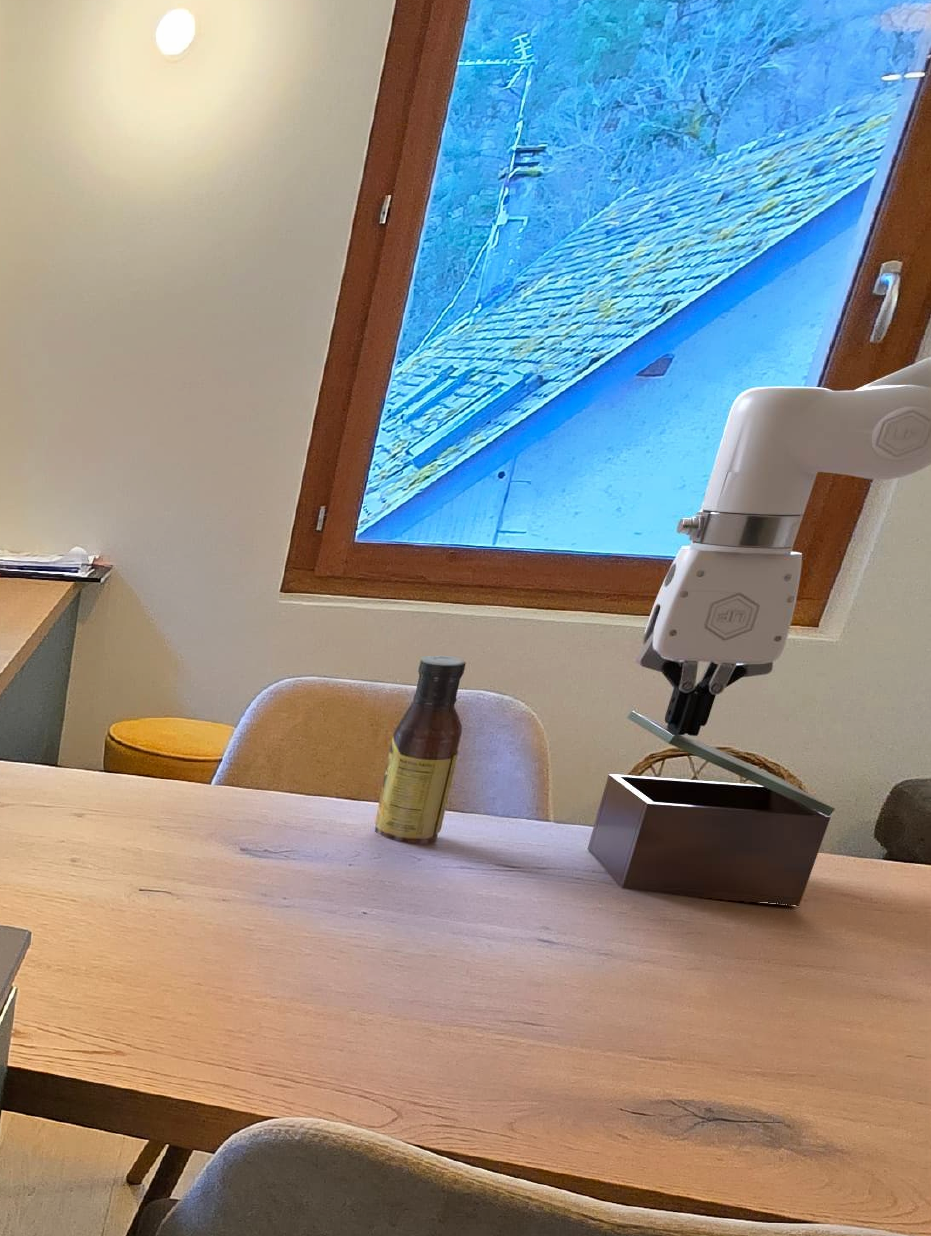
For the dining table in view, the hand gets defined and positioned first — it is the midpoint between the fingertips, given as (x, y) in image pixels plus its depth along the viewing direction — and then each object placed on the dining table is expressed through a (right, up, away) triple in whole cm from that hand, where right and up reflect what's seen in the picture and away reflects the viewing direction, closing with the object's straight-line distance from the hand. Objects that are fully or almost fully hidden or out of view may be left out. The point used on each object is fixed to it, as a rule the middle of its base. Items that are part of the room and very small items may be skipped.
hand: (681, 731), depth 130 cm
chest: (+4, -14, +4) cm, 15 cm away
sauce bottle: (-19, -10, +15) cm, 26 cm away
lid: (+4, -3, 0) cm, 5 cm away
